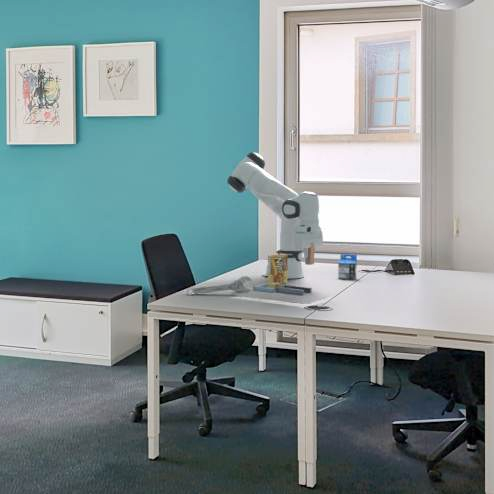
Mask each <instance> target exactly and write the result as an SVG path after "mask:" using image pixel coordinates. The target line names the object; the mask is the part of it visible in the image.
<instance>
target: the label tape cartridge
mask: <svg viewBox="0 0 494 494" xmlns="http://www.w3.org/2000/svg"><path fill="white" fill-rule="evenodd" d="M357 257H358V256H357V254H347V253H346V254H344V253H340V257H339V261H338V267H337V269H338V270H337V271H338V273H337V275H338V276H337V277H338V279H343V280H345V279H346V280H357V269H358V268H357V265H358V264H357V262H358V260H357Z"/></svg>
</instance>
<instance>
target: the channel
mask: <svg viewBox="0 0 494 494" xmlns="http://www.w3.org/2000/svg"><path fill="white" fill-rule="evenodd" d="M283 285H284V288H282V287H276V291H275V293H278V294H279V293H280V294H286V295H287V294H288V295H296V296H304V295H307V294H311V293H313V290H312V289H313V288H312V287H307V286H298V285H292V284H291V285H290V284H283Z"/></svg>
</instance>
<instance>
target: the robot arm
mask: <svg viewBox="0 0 494 494" xmlns="http://www.w3.org/2000/svg"><path fill="white" fill-rule="evenodd" d="M265 166H266V161H265V160H264V158H263V156H262V155H260V154H259V153H257V152H254V151H251V152H249V153H248V154H247V155H246V156H245V157H244V158H243V159H242V160H241V161H240V162H239V163H238V164H237V166H236V168H235V169H234V170H233V171H232V173H231V174H230V175H229V176H228V178H227V184H228V187H229V188H230V189H231V190H232V191H233V192H236V193H238V194H239V193H243V192H245V191H246V190H248V191H250V192H251V194H252V195H254V197H255V198H257V199H258V200H259V201H260V202H262V203H263V204H264V205H265V206H266V207H268V209H269V210H270V211H272V212H273V213H274V214H275V216H278V218H279V219H281V220H280V233H279V250H276V251H275V253H276V254H277V255H278V254H286V255H287V256H288V257H287V258H288V259H287V279H301V278H302V279H303V278H304V277H305V275H304V271H303V270H304V269H303V260H302V259H303V258H304V259H305V258H308V257H309V254H308V251H307V250H308V248H310V247H311V243H314V252H315V251H316V247H320V246H322V245H323V243H324V239H323V238H324V237H323V231H322V228H321V227H320V219H319V212H320V200H319V195H318V194H317V193H315V192H313V191H302V192H301V193H300V194H299V193H298V192H296V191H295V190H293V189H292V188H290V187H288V186H287V185H285V184H284V183H282V182H281V181H279V180H277V179H276V178H275V177H274V176H272V175H271V174H269V173H268V172H266V171H265V170H264V168H265ZM261 276H262V277H266V276H268V264H266V269H265V272H262V274H261Z"/></svg>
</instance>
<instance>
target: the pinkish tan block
mask: <svg viewBox="0 0 494 494" xmlns="http://www.w3.org/2000/svg"><path fill="white" fill-rule="evenodd" d="M307 251H308V254H309V257H308V258H305V257H304V264H305V265H307V266H310V265H315V251H314V243H311V247H310V248H308V250H307Z"/></svg>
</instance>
